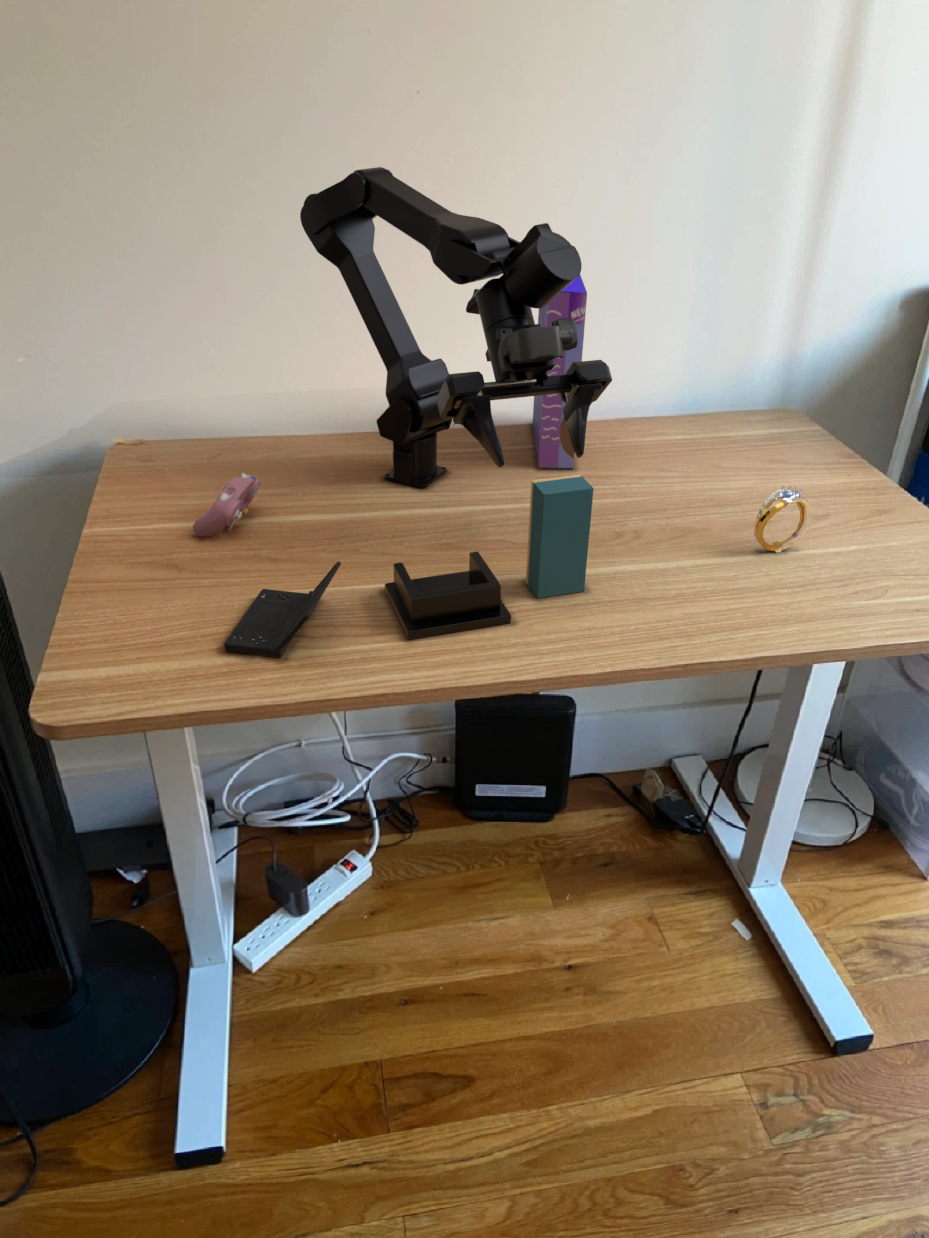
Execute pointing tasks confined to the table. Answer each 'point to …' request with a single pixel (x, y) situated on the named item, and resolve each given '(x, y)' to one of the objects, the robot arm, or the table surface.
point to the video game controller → (228, 506)
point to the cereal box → (548, 408)
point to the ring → (766, 515)
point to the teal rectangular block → (558, 535)
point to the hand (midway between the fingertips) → (541, 461)
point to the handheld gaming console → (275, 620)
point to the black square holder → (447, 600)
